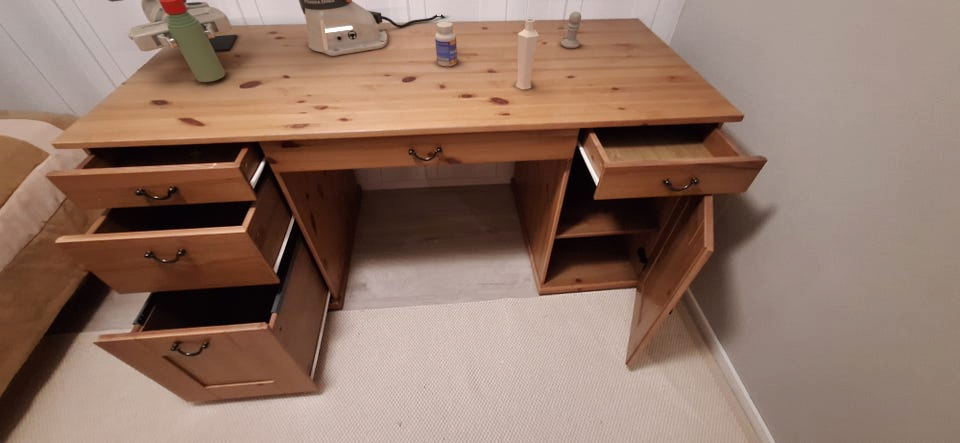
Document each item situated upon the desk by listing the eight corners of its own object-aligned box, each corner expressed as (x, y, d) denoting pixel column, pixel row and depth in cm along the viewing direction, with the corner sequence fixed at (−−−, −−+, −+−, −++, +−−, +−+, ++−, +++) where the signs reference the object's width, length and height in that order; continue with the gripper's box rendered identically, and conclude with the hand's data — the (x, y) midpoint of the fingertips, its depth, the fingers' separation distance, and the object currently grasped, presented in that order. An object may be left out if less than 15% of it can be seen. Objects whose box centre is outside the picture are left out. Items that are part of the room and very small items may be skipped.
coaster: (237, 36, 113) (236, 34, 113) (229, 51, 106) (228, 48, 105) (197, 39, 112) (196, 37, 111) (186, 54, 104) (185, 52, 104)
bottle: (227, 69, 96) (191, -5, 84) (222, 80, 92) (183, 5, 80) (200, 71, 95) (159, -3, 83) (193, 83, 91) (149, 7, 79)
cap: (189, 7, 85) (183, -5, 83) (184, 13, 82) (177, 1, 80) (169, 8, 84) (162, -4, 82) (162, 15, 81) (155, 2, 79)
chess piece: (582, 44, 111) (588, 11, 104) (574, 50, 108) (580, 16, 101) (565, 40, 113) (571, 7, 106) (557, 46, 110) (562, 12, 103)
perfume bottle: (512, 81, 94) (517, 16, 83) (530, 81, 94) (537, 16, 83) (515, 90, 91) (520, 24, 80) (533, 90, 91) (541, 23, 80)
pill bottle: (454, 67, 99) (452, 28, 92) (434, 66, 100) (431, 27, 93) (459, 59, 103) (457, 21, 96) (440, 57, 104) (437, 19, 97)
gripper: (117, 19, 86) (130, 36, 79) (212, 0, 96) (231, 14, 89) (135, 47, 91) (149, 66, 84) (224, 26, 101) (243, 41, 94)
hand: (192, 39), depth 87 cm, fingers closed on bottle, 6 cm apart
